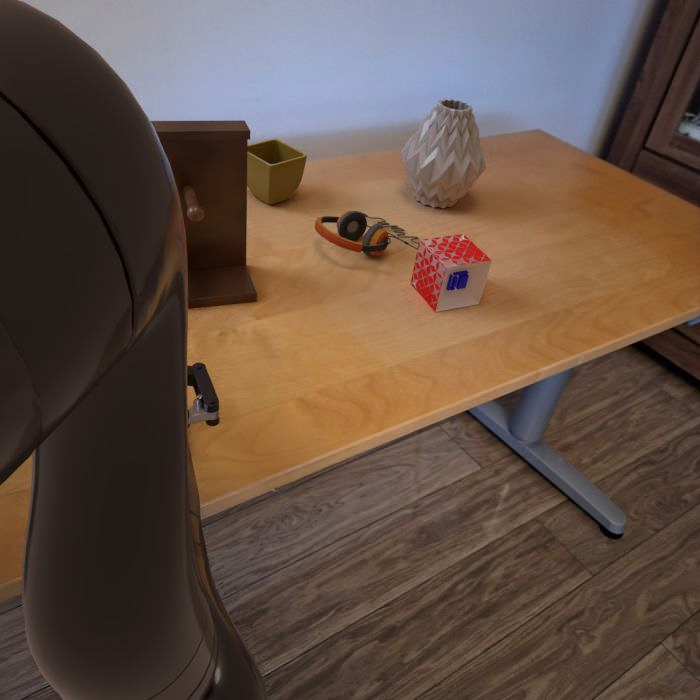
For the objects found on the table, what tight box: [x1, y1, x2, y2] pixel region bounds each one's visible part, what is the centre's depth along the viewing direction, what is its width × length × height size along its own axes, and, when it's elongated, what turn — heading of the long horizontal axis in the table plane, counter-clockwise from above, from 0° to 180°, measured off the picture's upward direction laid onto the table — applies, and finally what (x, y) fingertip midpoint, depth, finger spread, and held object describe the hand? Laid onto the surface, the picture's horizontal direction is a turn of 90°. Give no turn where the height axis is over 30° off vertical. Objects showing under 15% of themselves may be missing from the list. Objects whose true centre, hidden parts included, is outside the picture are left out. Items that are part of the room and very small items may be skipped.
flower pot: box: [247, 138, 308, 206], centre depth 112 cm, size 9×9×9 cm
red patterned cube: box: [410, 233, 493, 313], centre depth 94 cm, size 8×8×8 cm
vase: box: [400, 98, 487, 209], centre depth 117 cm, size 16×16×18 cm
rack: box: [150, 119, 258, 309], centre depth 83 cm, size 16×10×23 cm, turn 109°
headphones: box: [314, 210, 419, 256], centre depth 104 cm, size 17×5×20 cm
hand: (128, 350), depth 59 cm, fingers closed on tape, 6 cm apart
